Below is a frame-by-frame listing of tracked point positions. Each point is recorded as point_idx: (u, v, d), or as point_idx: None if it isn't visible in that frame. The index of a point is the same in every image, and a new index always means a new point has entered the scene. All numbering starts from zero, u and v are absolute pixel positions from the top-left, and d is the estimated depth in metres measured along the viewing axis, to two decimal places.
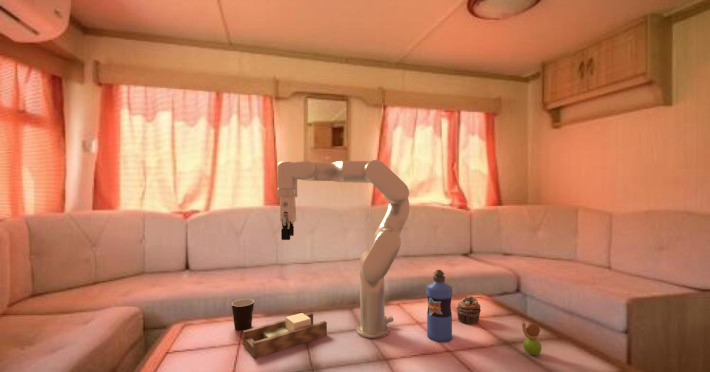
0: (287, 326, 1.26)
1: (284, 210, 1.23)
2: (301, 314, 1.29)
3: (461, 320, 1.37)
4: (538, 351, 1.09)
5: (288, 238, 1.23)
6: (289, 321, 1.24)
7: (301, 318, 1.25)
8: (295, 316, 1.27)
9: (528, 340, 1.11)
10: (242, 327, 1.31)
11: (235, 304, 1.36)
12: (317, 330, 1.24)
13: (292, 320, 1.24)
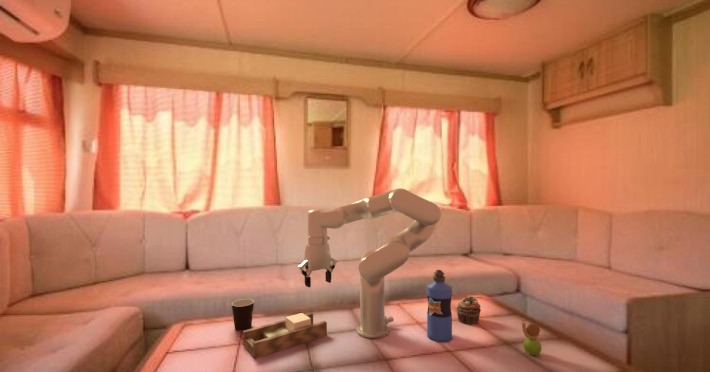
0: (287, 326, 1.26)
1: None
2: (301, 314, 1.29)
3: (461, 320, 1.37)
4: (538, 351, 1.09)
5: None
6: (289, 321, 1.24)
7: (301, 318, 1.25)
8: (295, 316, 1.27)
9: (528, 340, 1.11)
10: (242, 327, 1.31)
11: (235, 304, 1.36)
12: (317, 330, 1.24)
13: (292, 320, 1.24)
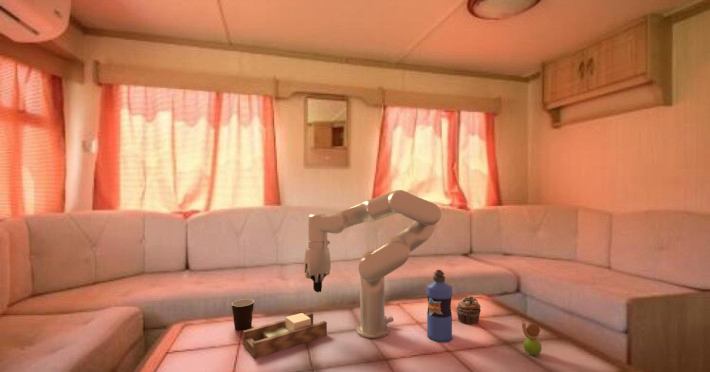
0: (287, 326, 1.26)
1: None
2: (301, 314, 1.29)
3: (461, 320, 1.37)
4: (538, 351, 1.09)
5: None
6: (289, 321, 1.24)
7: (301, 318, 1.25)
8: (295, 316, 1.27)
9: (528, 340, 1.11)
10: (242, 327, 1.31)
11: (235, 304, 1.36)
12: (317, 330, 1.24)
13: (292, 320, 1.24)
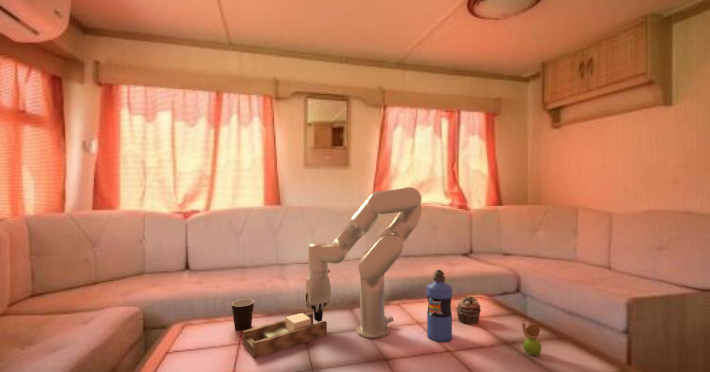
0: (287, 326, 1.26)
1: None
2: (301, 314, 1.29)
3: (461, 320, 1.37)
4: (538, 351, 1.09)
5: None
6: (289, 321, 1.24)
7: (301, 318, 1.25)
8: (295, 316, 1.27)
9: (528, 340, 1.11)
10: (242, 327, 1.31)
11: (235, 304, 1.36)
12: (317, 330, 1.24)
13: (292, 320, 1.24)
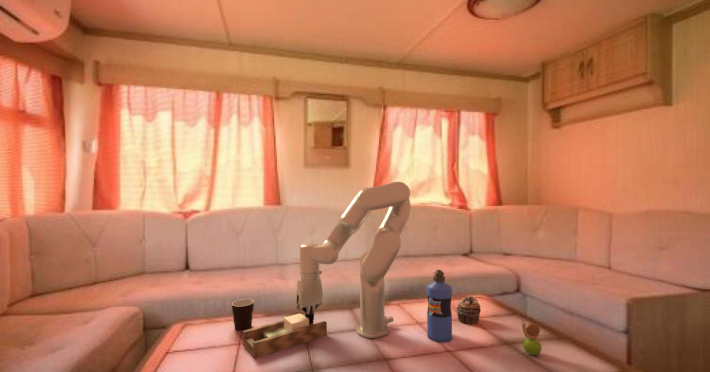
0: (285, 327, 1.25)
1: None
2: (299, 315, 1.29)
3: (461, 320, 1.37)
4: (538, 351, 1.09)
5: None
6: (287, 322, 1.24)
7: (299, 319, 1.25)
8: (293, 317, 1.27)
9: (528, 340, 1.11)
10: (242, 327, 1.31)
11: (235, 304, 1.36)
12: (317, 330, 1.24)
13: (290, 320, 1.24)
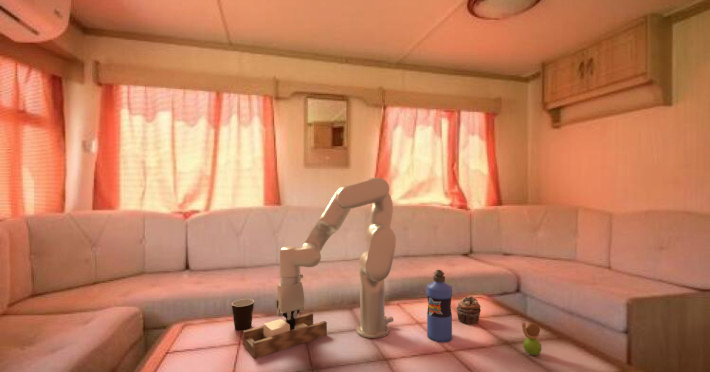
0: (265, 333, 1.20)
1: None
2: (280, 320, 1.24)
3: (461, 320, 1.37)
4: (538, 351, 1.09)
5: None
6: (267, 328, 1.18)
7: (280, 325, 1.19)
8: (273, 322, 1.22)
9: (528, 340, 1.11)
10: (242, 327, 1.31)
11: (235, 304, 1.36)
12: (317, 330, 1.24)
13: (270, 326, 1.18)
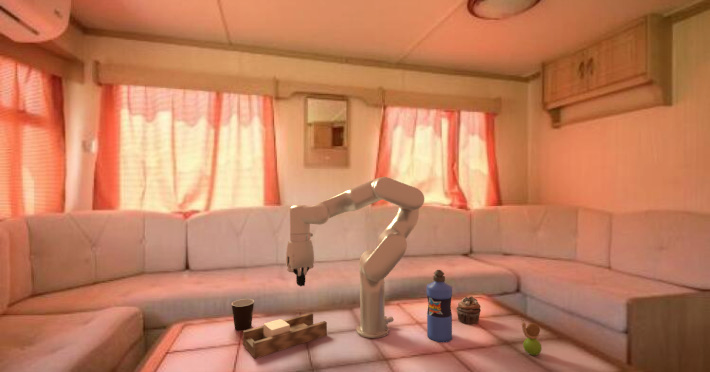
0: (265, 333, 1.20)
1: None
2: (280, 320, 1.24)
3: (461, 320, 1.37)
4: (538, 351, 1.09)
5: None
6: (267, 328, 1.18)
7: (280, 325, 1.19)
8: (273, 322, 1.22)
9: (528, 340, 1.11)
10: (242, 327, 1.31)
11: (235, 304, 1.36)
12: (317, 330, 1.24)
13: (270, 326, 1.18)
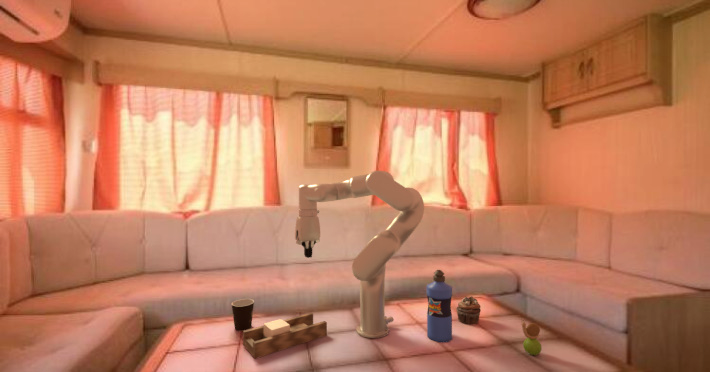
0: (265, 333, 1.20)
1: None
2: (280, 320, 1.24)
3: (461, 320, 1.37)
4: (538, 351, 1.09)
5: None
6: (267, 328, 1.18)
7: (280, 325, 1.19)
8: (273, 322, 1.22)
9: (528, 340, 1.11)
10: (242, 327, 1.31)
11: (235, 304, 1.36)
12: (317, 330, 1.24)
13: (270, 326, 1.18)
